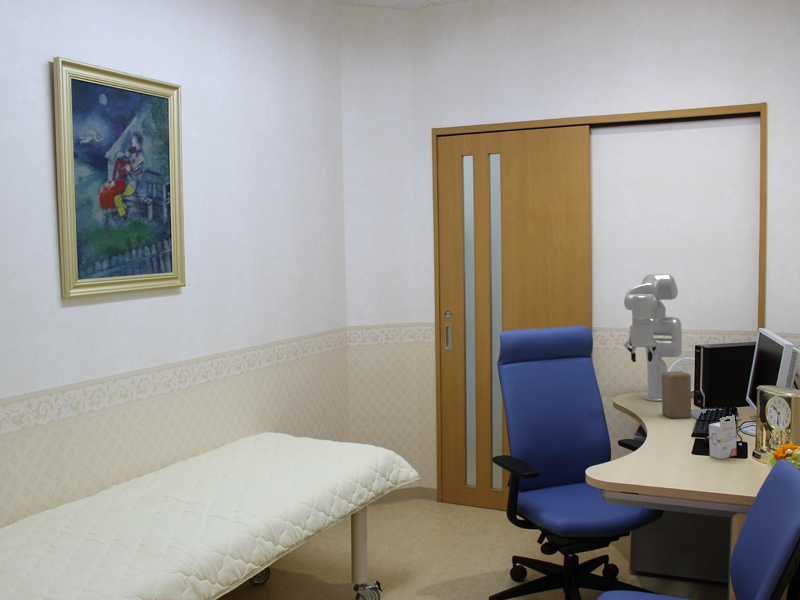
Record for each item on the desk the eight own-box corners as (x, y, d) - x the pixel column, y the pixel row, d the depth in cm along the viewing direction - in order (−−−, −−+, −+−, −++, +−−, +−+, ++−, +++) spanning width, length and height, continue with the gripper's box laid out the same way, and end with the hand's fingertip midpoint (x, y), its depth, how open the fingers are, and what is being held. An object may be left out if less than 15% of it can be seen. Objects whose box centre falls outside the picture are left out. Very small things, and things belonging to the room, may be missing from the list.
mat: (681, 410, 315) (681, 409, 315) (720, 410, 314) (720, 408, 314) (699, 421, 293) (699, 419, 293) (741, 420, 292) (741, 419, 292)
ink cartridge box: (724, 452, 244) (723, 412, 243) (737, 455, 239) (736, 415, 239) (708, 456, 240) (708, 415, 239) (721, 459, 235) (720, 418, 235)
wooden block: (692, 418, 300) (691, 374, 299) (669, 418, 300) (668, 374, 299) (683, 413, 310) (682, 370, 309) (661, 414, 310) (660, 371, 309)
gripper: (657, 321, 307) (658, 360, 308) (619, 322, 309) (620, 360, 309) (663, 322, 300) (663, 362, 301) (623, 323, 301) (624, 363, 302)
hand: (641, 361), depth 305 cm, fingers open, 6 cm apart
